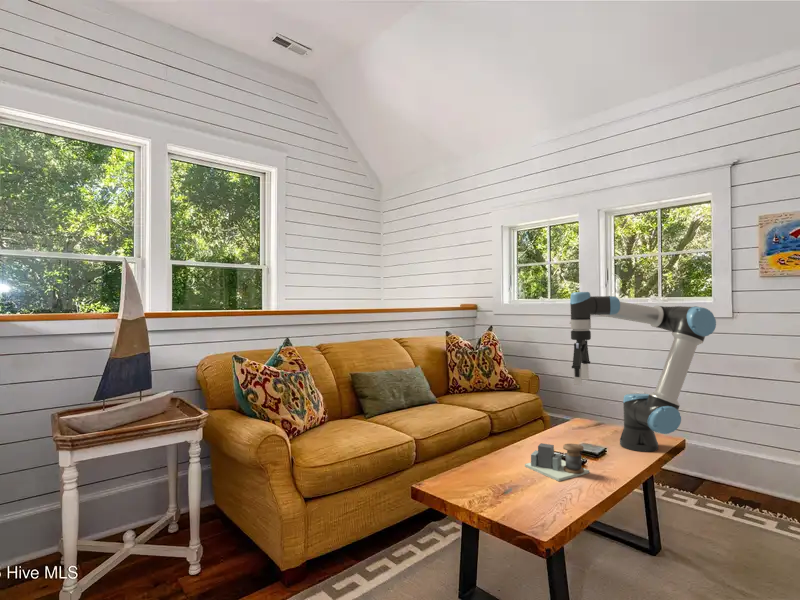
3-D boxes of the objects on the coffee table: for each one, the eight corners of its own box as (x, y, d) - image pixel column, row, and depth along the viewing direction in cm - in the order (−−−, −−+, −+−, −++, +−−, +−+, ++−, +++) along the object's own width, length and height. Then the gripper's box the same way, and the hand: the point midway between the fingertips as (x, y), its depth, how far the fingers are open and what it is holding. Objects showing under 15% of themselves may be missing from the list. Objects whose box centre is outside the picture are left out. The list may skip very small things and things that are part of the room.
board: (554, 459, 196) (554, 456, 196) (589, 472, 180) (589, 470, 180) (524, 466, 188) (524, 463, 188) (558, 481, 173) (558, 478, 173)
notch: (535, 461, 191) (535, 450, 191) (561, 465, 185) (561, 454, 185) (531, 466, 186) (530, 454, 186) (557, 470, 180) (557, 459, 180)
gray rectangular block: (541, 463, 188) (540, 443, 188) (554, 465, 186) (553, 445, 186) (538, 466, 185) (537, 446, 185) (551, 468, 182) (551, 447, 182)
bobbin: (572, 465, 185) (572, 442, 185) (588, 471, 179) (587, 447, 179) (559, 469, 182) (559, 445, 182) (574, 475, 176) (574, 450, 176)
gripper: (577, 327, 206) (578, 376, 206) (563, 332, 185) (564, 386, 185) (596, 328, 202) (596, 378, 202) (584, 332, 181) (585, 388, 181)
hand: (581, 382), depth 194 cm, fingers open, 13 cm apart
